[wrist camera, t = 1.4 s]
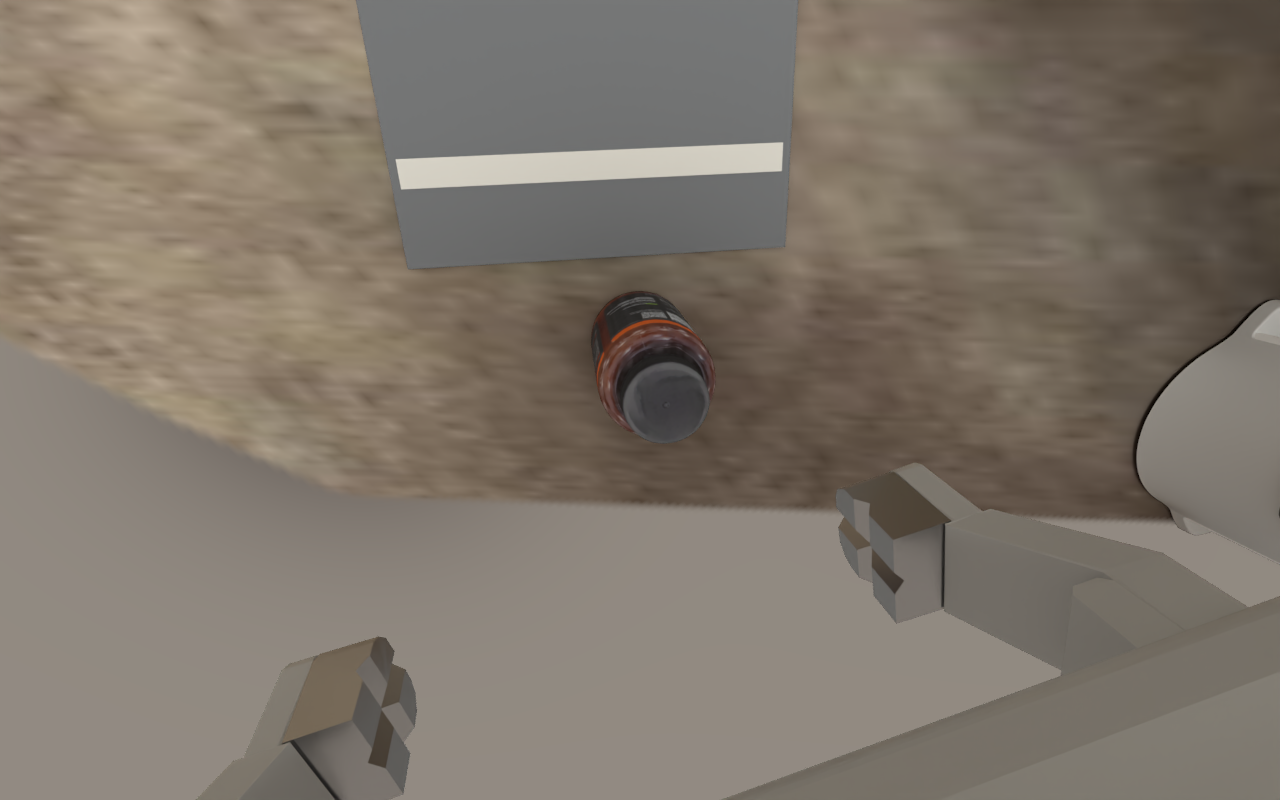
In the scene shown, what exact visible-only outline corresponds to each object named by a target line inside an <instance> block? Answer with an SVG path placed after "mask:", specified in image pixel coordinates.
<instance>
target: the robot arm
mask: <svg viewBox="0 0 1280 800" xmlns="http://www.w3.org/2000/svg"><path fill="white" fill-rule="evenodd" d="M1137 469H1138V474H1139V477H1140V480H1141V482H1142V484H1143V485H1144V487H1145V488H1146V490H1147V491H1148V492H1149V493H1150V494H1151V495H1152V496H1153V497H1155V498H1156V499H1158V500H1159V501H1161V502H1162V503H1164V504H1165V505H1166V506H1167V507H1168V508H1169V509H1170V511H1171V514H1172V517H1173V519H1174V522H1175V524H1176V525H1177V527H1178V528H1180V529H1182V530H1183V531H1186V532H1188V533H1190V534H1192V535H1202V534H1206V533H1210V532H1214V533H1216V534H1218V535H1220V536H1222V537H1224V538H1226V539H1228V540H1230V541H1232V542H1234V543H1236V544H1238V545H1240V546H1242V547H1244V548H1246V549H1248V550H1250V551H1252V552H1254V553H1256V554H1258V555H1261V556H1263V557H1265V558H1267V559H1269V560H1271V561H1273V562H1275V563H1277V564H1279V565H1280V300H1271V301H1268V302H1266V303H1264V304H1263V305H1261V306H1260V307H1259V308H1258V309H1257V310H1255V311H1254V312H1253V313H1252V314H1251V315H1250V316H1249V317H1248V318H1247V319H1246V321H1245V322H1244V323H1243V324H1242V325H1241V326H1240V327H1239V328H1238V329H1237V330H1236V331H1235V333H1234V334H1233V335H1231V336H1230V337H1229V338H1228V339H1226V340H1225V341H1223V342H1222V343H1220V344H1219V345H1217V346H1216V347H1214V348H1212V349H1211V350H1209V351H1208V352H1206V353H1205V354H1203V355H1202V356H1200V357H1199V358H1197V359H1196V360H1195V361H1194V362H1192V363H1191V364H1190V365H1189V366H1188V367H1186V368H1185V369H1184V370H1183V371H1182V372H1181V373H1180V374H1179V375H1178V376H1177V377H1176V378H1175V379H1174V380H1173V381H1172V382H1171V383H1170V384H1169V385H1168V387H1167V388H1166V389H1165V390H1164V392H1163V393H1162V394H1161V396H1160V397H1159V398H1158V400H1157V401H1156V403H1155V404H1154V406H1153V408H1152V409H1151V411H1150V413H1149V415H1148V417H1147V419H1146V421H1145V423H1144V426H1143V428H1142V431H1141V434H1140V438H1139V442H1138V447H1137ZM836 507H837V509H838V510H839V511H840V512H841V514H842V515H843V516H844V518H843V520H842V522H841V524H840V526H839V527H838V528H839V536H840V543H841V545H842V548H843V551H844V554H845V557H846V558H847V560H848V562H849V564H850V566H851V567H852V568H853V570H854V571H855V572H856V574H857V575H858V576H859V577H860V578H862V579H864V580H867V581H870V582H872V583H873V591H874V596H875V598H876V599H877V600H878V601H879V603H880V604H881V605H882V606H883V608H884V609H885V610H886V611H887V612H888V614H889V615H890V616H891V617H892V618H893V620H894V621H895V622H896V623H900V622H903V621H906V620H909V619H913V618H916V617H919V616H922V615H925V614H928V613H932V612H935V611H938V610H941V609H944V611H945V612H947V613H949V614H951V615H953V616H955V617H957V618H959V619H961V620H963V621H965V622H967V623H968V624H970V625H972V626H975V627H977V628H978V629H980V630H982V631H984V632H987V633H988V634H990V635H992V636H994V637H997V638H998V639H1000V640H1002V641H1005V642H1006V643H1008V644H1010V645H1012V646H1014V647H1016V648H1018V649H1020V650H1022V651H1024V652H1026V653H1028V654H1030V655H1032V656H1034V657H1036V658H1038V659H1040V660H1042V661H1044V662H1046V663H1048V664H1050V665H1052V666H1054V667H1056V668H1058V669H1060V670H1061V676H1060V677H1057V678H1054V679H1051V680H1049V681H1046V682H1043V683H1040V684H1038V685H1035V686H1032V687H1029V688H1027V689H1024V690H1021V691H1018V692H1015V693H1013V694H1010V695H1007V696H1004V697H1002V698H999V699H996V700H994V701H991V702H988V703H986V704H983V705H980V706H977V707H974V708H972V709H969V710H966V711H963V712H961V713H958V714H955V715H953V716H950V717H947V718H944V719H941V720H939V721H936V722H933V723H931V724H928V725H925V726H922V727H920V728H917V729H914V730H911V731H909V732H906V733H903V734H900V735H897V736H895V737H892V738H890V739H887V740H884V741H881V742H878V743H876V744H873V745H870V746H867V747H865V748H862V749H859V750H856V751H854V752H851V753H848V754H846V755H843V756H840V757H837V758H834V759H832V760H829V761H826V762H823V763H821V764H818V765H815V766H812V767H810V768H807V769H804V770H801V771H799V772H796V773H793V774H790V775H788V776H785V777H782V778H780V779H777V780H774V781H771V782H769V783H766V784H763V785H761V786H758V787H755V788H752V789H749V790H747V791H744V792H741V793H738V794H736V795H733V796H730V797H727V798H725V799H722V800H1280V596H1279V597H1277V598H1274V599H1271V600H1268V601H1266V602H1263V603H1260V604H1257V605H1254V606H1252V607H1247V606H1246V605H1244V604H1242V603H1241V602H1239V601H1238V600H1236V599H1234V598H1233V597H1231V596H1230V595H1228V594H1226V593H1225V592H1223V591H1222V590H1220V589H1219V588H1217V587H1216V586H1214V585H1212V584H1211V583H1209V582H1208V581H1206V580H1204V579H1203V578H1201V577H1199V576H1198V575H1196V574H1195V573H1193V572H1192V571H1190V570H1188V569H1187V568H1185V567H1184V566H1182V565H1181V564H1179V563H1177V562H1176V561H1174V560H1173V559H1171V558H1170V557H1168V556H1167V555H1165V554H1163V553H1161V552H1157V551H1153V550H1149V549H1145V548H1141V547H1137V546H1133V545H1130V544H1125V543H1122V542H1118V541H1114V540H1110V539H1106V538H1102V537H1098V536H1094V535H1090V534H1086V533H1082V532H1079V531H1074V530H1071V529H1067V528H1063V527H1059V526H1055V525H1051V524H1048V523H1044V522H1040V521H1036V520H1032V519H1028V518H1024V517H1020V516H1016V515H1012V514H1009V513H1005V512H1001V511H997V510H993V509H989V510H986V511H981V510H980V509H979V508H977V507H976V506H975V505H974V504H972V503H971V502H970V501H968V500H967V499H966V498H965V497H963V496H962V495H961V494H959V493H958V492H957V491H956V490H954V489H953V488H952V487H950V486H949V485H948V484H946V483H945V482H944V481H943V480H941V479H940V478H939V477H937V476H936V475H935V474H934V473H932V472H931V471H930V470H928V469H927V468H926V467H924V466H923V465H922V464H918V463H912V464H909V465H906V466H904V467H901V468H898V469H895V470H892V471H889V473H885V474H882V475H879V476H876V477H873V478H870V479H867V480H864V481H861V482H858V483H855V484H852V485H849V486H846V487H842V488H839V489H837V493H836ZM393 656H394V650H393V648H392V647H391V645H390V644H389V642H388V641H387V639H386V638H384V637H376V638H372V639H369V640H365V641H362V642H359V643H355V644H352V645H349V646H346V647H342V648H339V649H335V650H332V651H329V652H325V653H322V654H320V655H318V656H313V657H310V658H307V659H304V660H300V661H297V662H294V663H290V664H289V665H288V666H286V667H285V668H284V669H283V670H282V671H281V673H280V676H279V678H278V680H277V682H276V685H275V687H274V689H273V692H272V694H271V696H270V699H269V701H268V703H267V705H266V708H265V710H264V712H263V715H262V717H261V719H260V721H259V724H258V726H257V728H256V730H255V733H254V735H253V737H252V739H251V742H250V744H249V746H248V748H247V751H246V753H245V756H244V758H241V759H238V760H235V761H233V762H232V763H231V764H230V765H229V766H228V767H227V768H226V769H225V770H224V771H223V772H222V773H221V774H220V775H219V776H218V777H217V778H216V779H215V780H214V781H213V783H212V784H211V785H210V786H209V787H208V788H207V789H206V790H205V791H204V792H203V793H202V794H201V795H200V796H199V797H198V798H197V799H196V800H389V799H392V798H394V797H397V796H400V795H403V793H404V787H405V781H406V775H407V769H408V764H409V757H410V752H409V750H408V749H407V747H406V746H405V744H404V741H405V740H406V738H407V737H408V735H409V734H410V733H411V731H412V730H413V729H414V727H415V720H416V713H417V709H416V708H417V707H416V695H415V690H414V687H413V684H412V681H411V679H410V677H409V675H408V673H407V672H406V670H405V669H403V668H401V667H398V666H396V665H394V664H392V661H393Z"/></svg>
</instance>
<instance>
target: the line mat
mask: <svg viewBox="0 0 1280 800" xmlns="http://www.w3.org/2000/svg"><path fill="white" fill-rule="evenodd" d="M356 3H357V8H358V13H359V18H360V23H361V28H362V34H363V39H364V44H365V49H366V54H367V60H368V65H369V70H370V75H371V80H372V86H373V91H374V96H375V101H376V106H377V111H378V117H379V122H380V127H381V132H382V137H383V143H384V148H385V153H386V158H387V163H388V169H389V174H390V179H391V184H392V189H393V195H394V200H395V205H396V210H397V215H398V220H399V226H400V231H401V236H402V241H403V246H404V252H405V257H406V262H407V267H408V269H421V268H438V267H455V266H472V265H488V264H505V263H522V262H539V261H556V260H573V259H590V258H607V257H624V256H641V255H658V254H675V253H692V252H708V251H725V250H742V249H759V248H776V247H785V241H786V222H787V203H788V184H789V165H790V146H791V126H792V107H793V88H794V69H795V50H796V31H797V12H798V0H356Z"/></svg>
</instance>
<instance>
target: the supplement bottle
mask: <svg viewBox="0 0 1280 800" xmlns="http://www.w3.org/2000/svg"><path fill="white" fill-rule="evenodd" d="M591 345H592V353H593V360H594V366H595V373H596V381H597V386H598V391H599V395H600V399H601V402H602V404H603V406H604V408H605V410H606V411H607V413H608V414H609V415H610V417H611V418H612V419H613V420H614V421H615V422H616V423H618V424H619V425H620V426H621V427H623V428H624V429H626V430H628V431H630V432H632V433H634V434H637V435H639V436H640V437H642V438H643V439H646V440H648V441H650V442H654V443H663V444H664V443H673V442H677V441H680V440H682V439H685V438H686V437H688V436H690V435H691V434H693V433H694V432H695V431H696V430H697V429H698V428H699V427H700V426H701V424H702V423H703V421H704V419H705V417H706V416H707V413H708V410H709V404H710V402H711V399H712V396H713V393H714V390H715V382H716V381H715V368H714V364H713V360H712V358H711V355H710V353H709V351H708V350H707V348H706V347H705V345H704V344H703V343H702V341H701V340H700V338H699V337H698V336H697V335H696V333H695V332H694V331H693V329H692V328H691V327H690V325H689V324H688V323H687V321H686V320H685V319H684V317H683V316H682V315H681V313H680V312H679V311H678V310H677V308H675V306H674V305H673V304H671V303H670V302H669V301H668V300H666V299H665V298H663V297H661V296H659V295H657V294H654V293H650V292H643V291H641V292H631V293H626V294H623V295H621V296H618V297H616V298H615V299H613V300H612V301H610V302H609V303H608V304H607V305H606V306H605V307H604V308H603V309H602V310H601V312H600V313H599V315H598V316H597V318H596V320H595V322H594V325H593V330H592V339H591Z"/></svg>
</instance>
